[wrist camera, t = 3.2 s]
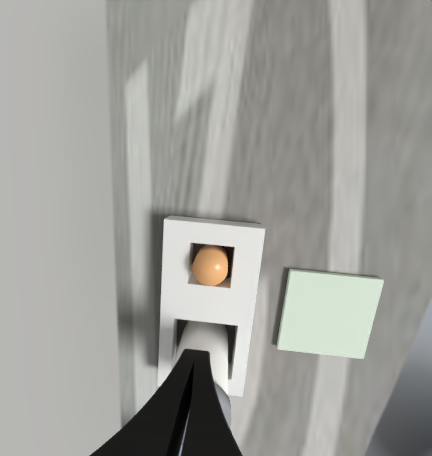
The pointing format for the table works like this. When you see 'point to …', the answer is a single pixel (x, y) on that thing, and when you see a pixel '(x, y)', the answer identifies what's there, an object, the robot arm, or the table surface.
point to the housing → (209, 288)
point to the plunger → (210, 265)
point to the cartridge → (218, 348)
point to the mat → (328, 313)
